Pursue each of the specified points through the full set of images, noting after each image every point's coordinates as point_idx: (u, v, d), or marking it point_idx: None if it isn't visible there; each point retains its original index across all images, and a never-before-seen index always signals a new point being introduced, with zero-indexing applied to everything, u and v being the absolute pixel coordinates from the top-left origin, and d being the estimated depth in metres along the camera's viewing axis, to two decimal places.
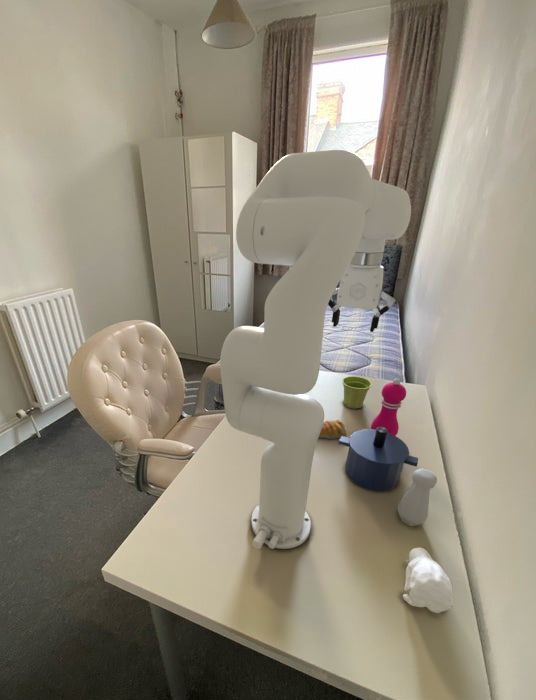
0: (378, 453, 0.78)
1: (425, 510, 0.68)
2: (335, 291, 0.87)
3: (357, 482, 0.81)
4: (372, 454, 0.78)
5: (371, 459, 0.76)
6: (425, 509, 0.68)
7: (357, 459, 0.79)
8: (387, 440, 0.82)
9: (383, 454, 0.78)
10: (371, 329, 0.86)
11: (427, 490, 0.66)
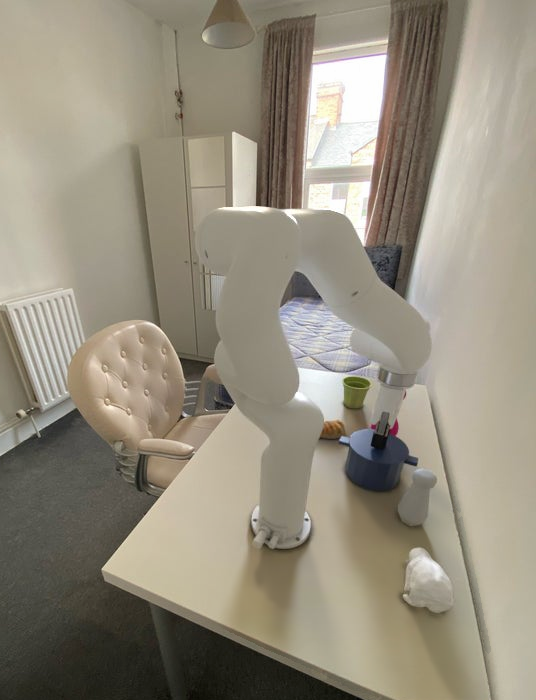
0: (378, 453, 0.78)
1: (425, 510, 0.68)
2: None
3: (357, 482, 0.81)
4: (372, 454, 0.78)
5: (371, 459, 0.76)
6: (425, 509, 0.68)
7: (357, 459, 0.79)
8: (387, 440, 0.82)
9: (383, 454, 0.78)
10: None
11: (427, 490, 0.66)
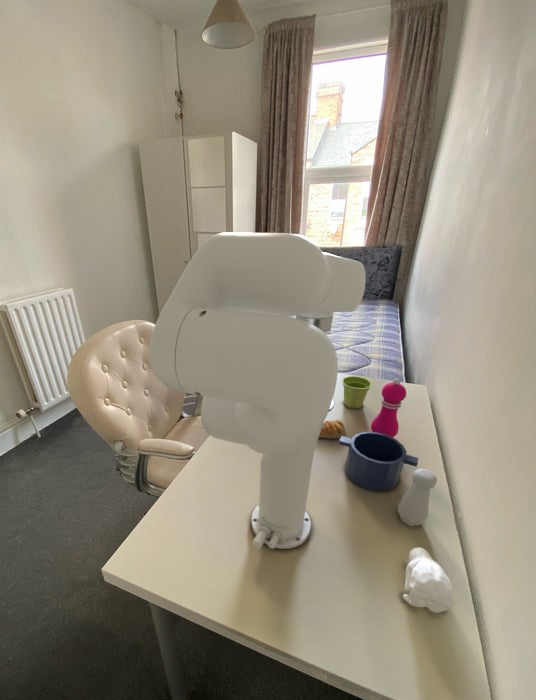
0: None
1: (425, 510, 0.68)
2: None
3: (357, 482, 0.81)
4: None
5: None
6: (425, 509, 0.68)
7: (357, 459, 0.79)
8: None
9: None
10: None
11: (427, 490, 0.66)
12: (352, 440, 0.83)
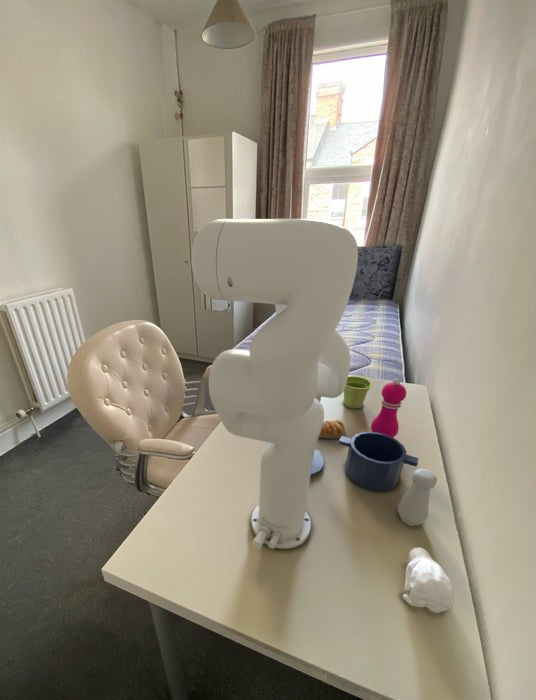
0: None
1: (425, 510, 0.68)
2: None
3: (357, 482, 0.81)
4: None
5: None
6: (425, 509, 0.68)
7: (357, 459, 0.79)
8: None
9: None
10: None
11: (427, 490, 0.66)
12: (352, 440, 0.83)
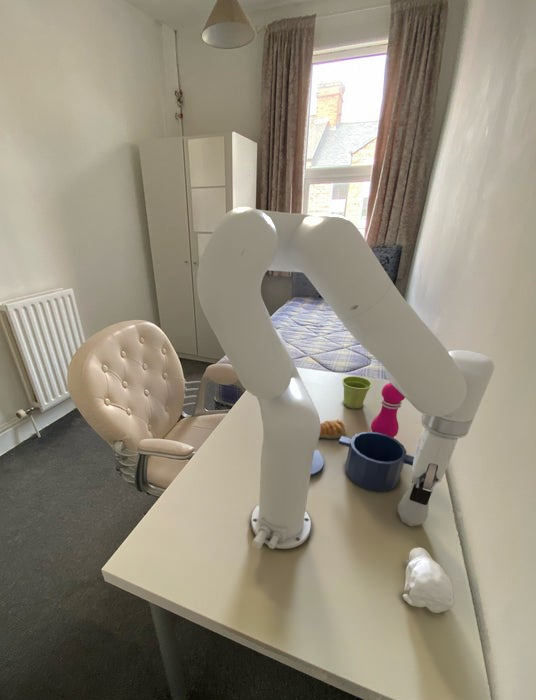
0: None
1: (425, 510, 0.68)
2: None
3: (357, 482, 0.81)
4: None
5: None
6: (425, 509, 0.68)
7: (357, 459, 0.79)
8: None
9: None
10: None
11: None
12: (352, 440, 0.83)
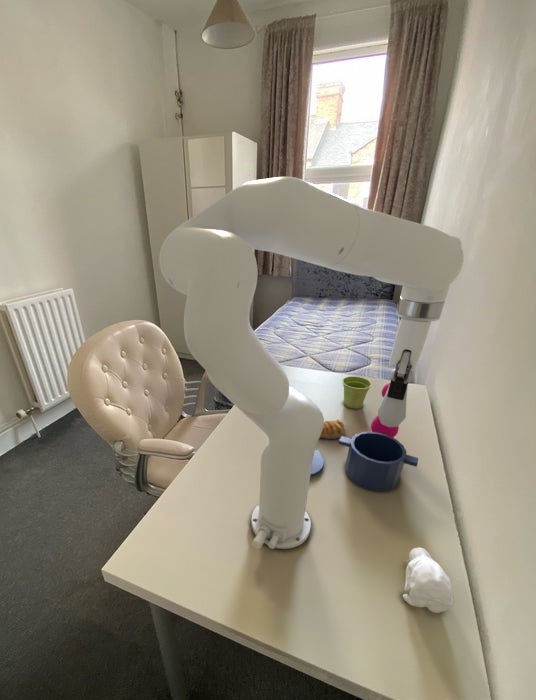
0: None
1: (403, 408, 0.71)
2: None
3: (357, 482, 0.81)
4: None
5: None
6: (403, 407, 0.71)
7: (357, 459, 0.79)
8: None
9: None
10: None
11: None
12: (352, 440, 0.83)
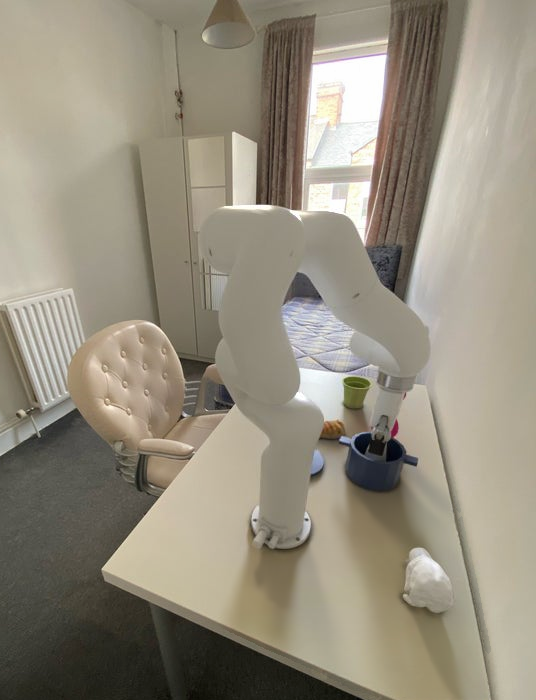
0: None
1: None
2: None
3: (357, 482, 0.81)
4: None
5: None
6: None
7: (357, 459, 0.79)
8: None
9: None
10: None
11: None
12: (352, 440, 0.83)
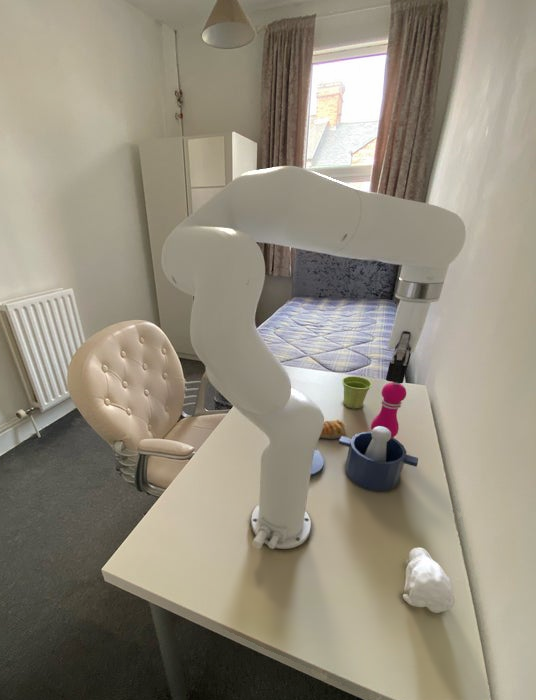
0: None
1: None
2: None
3: (357, 482, 0.81)
4: None
5: None
6: None
7: (357, 459, 0.79)
8: None
9: None
10: None
11: (383, 444, 0.79)
12: (352, 440, 0.83)
